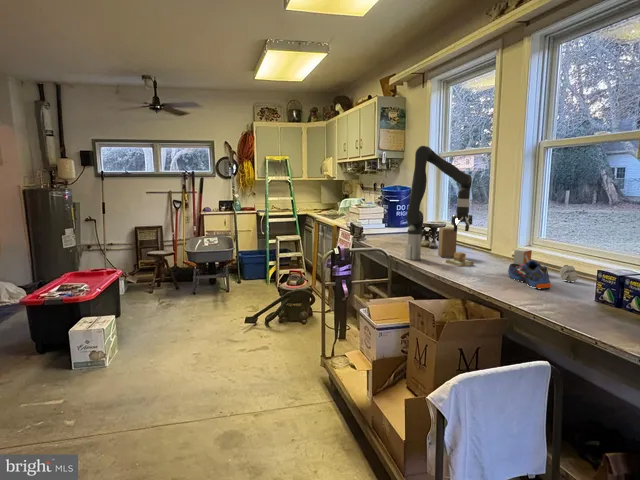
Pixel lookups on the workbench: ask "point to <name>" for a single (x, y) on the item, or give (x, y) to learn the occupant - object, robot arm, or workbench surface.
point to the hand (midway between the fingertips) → (461, 231)
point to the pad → (456, 263)
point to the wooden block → (447, 242)
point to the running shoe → (530, 274)
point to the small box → (522, 256)
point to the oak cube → (459, 256)
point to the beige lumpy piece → (568, 273)
